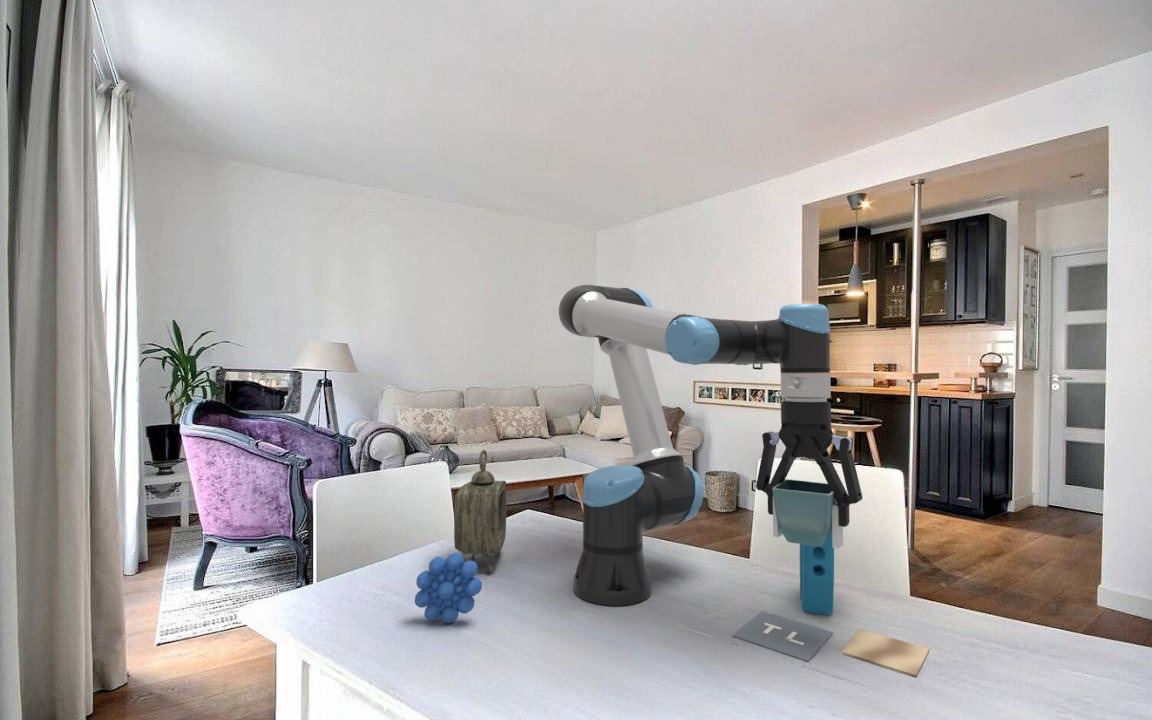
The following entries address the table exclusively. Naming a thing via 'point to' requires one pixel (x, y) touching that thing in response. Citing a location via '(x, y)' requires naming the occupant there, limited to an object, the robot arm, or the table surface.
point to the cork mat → (886, 652)
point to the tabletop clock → (480, 515)
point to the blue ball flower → (447, 588)
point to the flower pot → (804, 511)
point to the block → (817, 577)
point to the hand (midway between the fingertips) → (807, 540)
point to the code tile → (784, 635)
